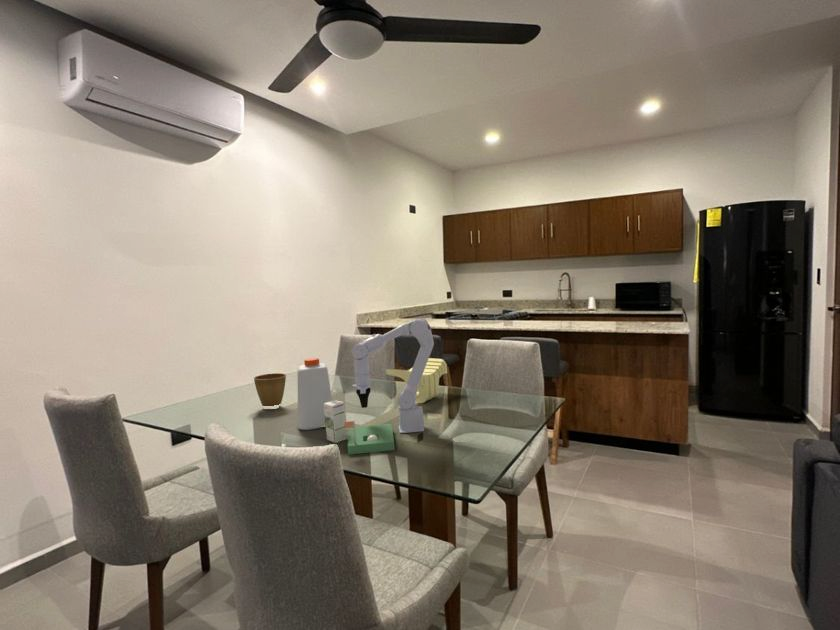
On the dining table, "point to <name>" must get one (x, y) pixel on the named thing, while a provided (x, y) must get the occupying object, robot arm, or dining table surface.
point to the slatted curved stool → (425, 378)
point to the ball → (372, 438)
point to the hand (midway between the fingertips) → (364, 407)
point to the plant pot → (270, 388)
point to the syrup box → (335, 421)
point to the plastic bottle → (312, 394)
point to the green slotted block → (360, 435)
